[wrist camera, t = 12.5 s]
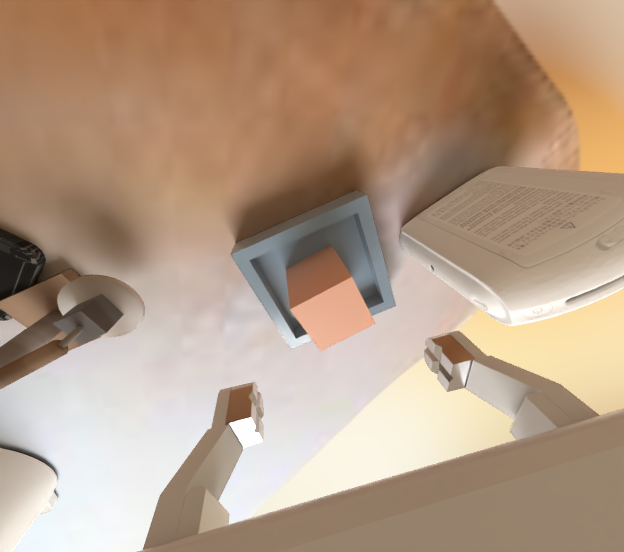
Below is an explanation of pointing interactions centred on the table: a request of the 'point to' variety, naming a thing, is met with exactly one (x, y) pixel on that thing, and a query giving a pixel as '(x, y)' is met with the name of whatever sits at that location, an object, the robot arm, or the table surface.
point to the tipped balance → (65, 319)
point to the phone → (17, 266)
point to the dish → (306, 241)
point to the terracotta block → (326, 298)
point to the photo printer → (525, 241)
